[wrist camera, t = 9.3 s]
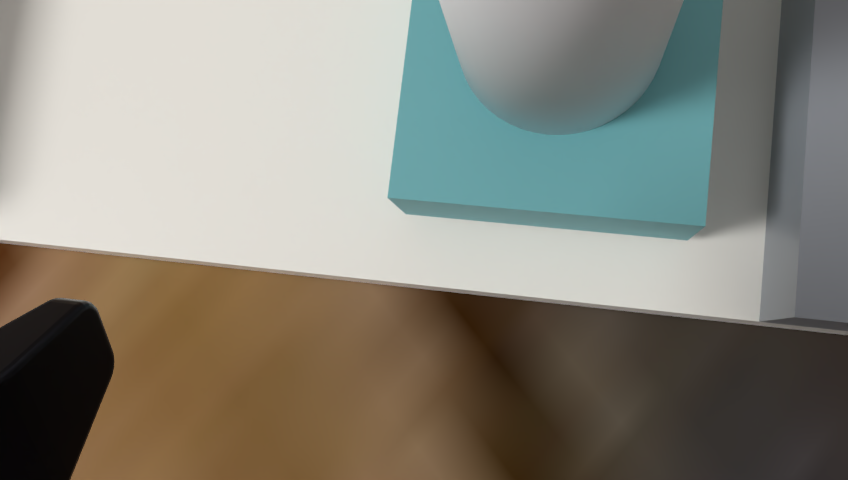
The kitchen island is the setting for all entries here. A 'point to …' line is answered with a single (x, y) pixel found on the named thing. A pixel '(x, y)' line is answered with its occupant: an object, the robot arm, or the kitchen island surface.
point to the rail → (373, 150)
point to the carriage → (559, 113)
